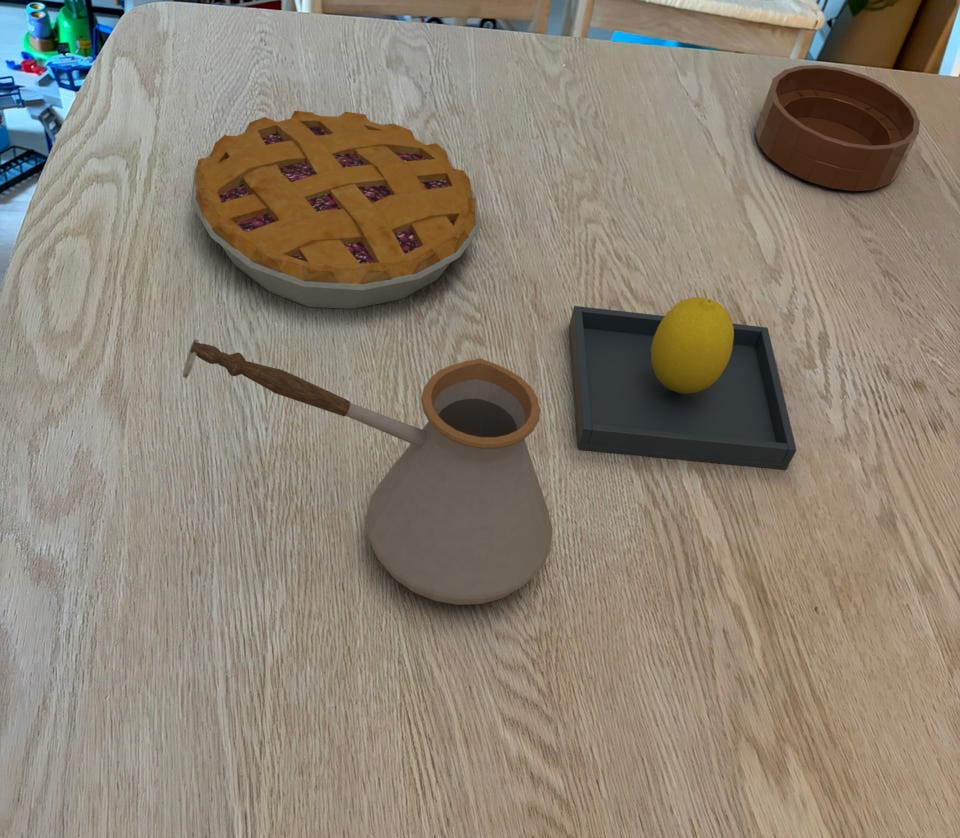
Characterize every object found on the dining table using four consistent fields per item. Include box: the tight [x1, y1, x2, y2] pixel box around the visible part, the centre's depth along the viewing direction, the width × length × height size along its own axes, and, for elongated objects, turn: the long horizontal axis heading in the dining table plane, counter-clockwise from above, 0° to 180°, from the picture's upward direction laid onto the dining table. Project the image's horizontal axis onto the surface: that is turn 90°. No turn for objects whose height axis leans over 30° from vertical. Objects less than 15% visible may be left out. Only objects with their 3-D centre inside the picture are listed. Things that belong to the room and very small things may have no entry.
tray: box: [568, 305, 797, 471], centre depth 78 cm, size 15×13×2 cm
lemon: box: [651, 296, 734, 394], centre depth 75 cm, size 6×6×8 cm
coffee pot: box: [182, 338, 553, 606], centre depth 61 cm, size 21×12×15 cm, turn 91°
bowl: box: [754, 64, 921, 192], centre depth 100 cm, size 14×14×4 cm
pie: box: [190, 110, 481, 310], centre depth 83 cm, size 22×22×5 cm
